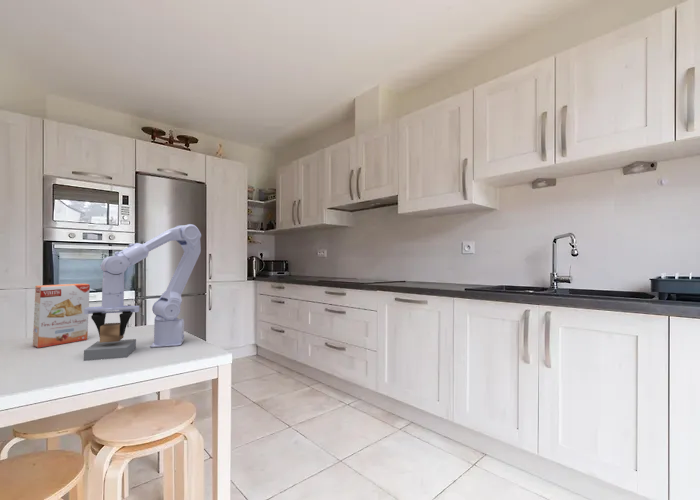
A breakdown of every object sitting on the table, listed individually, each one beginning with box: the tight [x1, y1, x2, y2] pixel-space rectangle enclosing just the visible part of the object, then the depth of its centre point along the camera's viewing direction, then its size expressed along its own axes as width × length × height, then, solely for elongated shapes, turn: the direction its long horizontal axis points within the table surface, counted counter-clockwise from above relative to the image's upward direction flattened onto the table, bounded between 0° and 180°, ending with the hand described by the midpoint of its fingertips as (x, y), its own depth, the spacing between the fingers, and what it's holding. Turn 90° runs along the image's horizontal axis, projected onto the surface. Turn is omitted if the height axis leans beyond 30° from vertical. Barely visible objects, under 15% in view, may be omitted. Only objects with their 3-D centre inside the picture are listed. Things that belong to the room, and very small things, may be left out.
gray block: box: [83, 338, 137, 362], centre depth 105 cm, size 11×11×4 cm
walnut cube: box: [99, 322, 125, 343], centre depth 105 cm, size 5×5×5 cm
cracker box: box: [32, 283, 91, 349], centre depth 117 cm, size 14×6×21 cm, turn 148°
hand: (112, 335), depth 105 cm, fingers closed on walnut cube, 5 cm apart
